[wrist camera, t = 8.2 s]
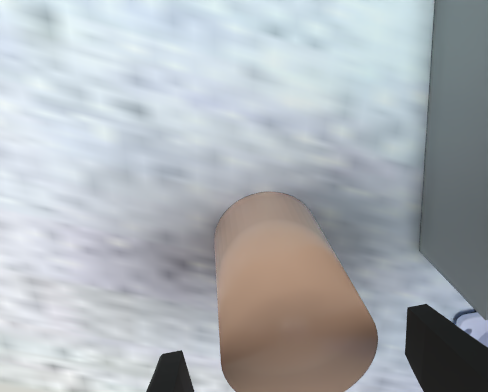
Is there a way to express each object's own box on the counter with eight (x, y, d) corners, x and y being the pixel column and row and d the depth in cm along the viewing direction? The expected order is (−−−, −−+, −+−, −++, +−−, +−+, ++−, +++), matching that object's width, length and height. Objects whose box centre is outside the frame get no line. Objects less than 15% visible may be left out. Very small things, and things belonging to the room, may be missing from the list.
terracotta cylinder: (320, 271, 19) (377, 392, 13) (223, 289, 19) (234, 420, 13) (313, 183, 17) (378, 276, 11) (204, 202, 17) (207, 307, 11)
